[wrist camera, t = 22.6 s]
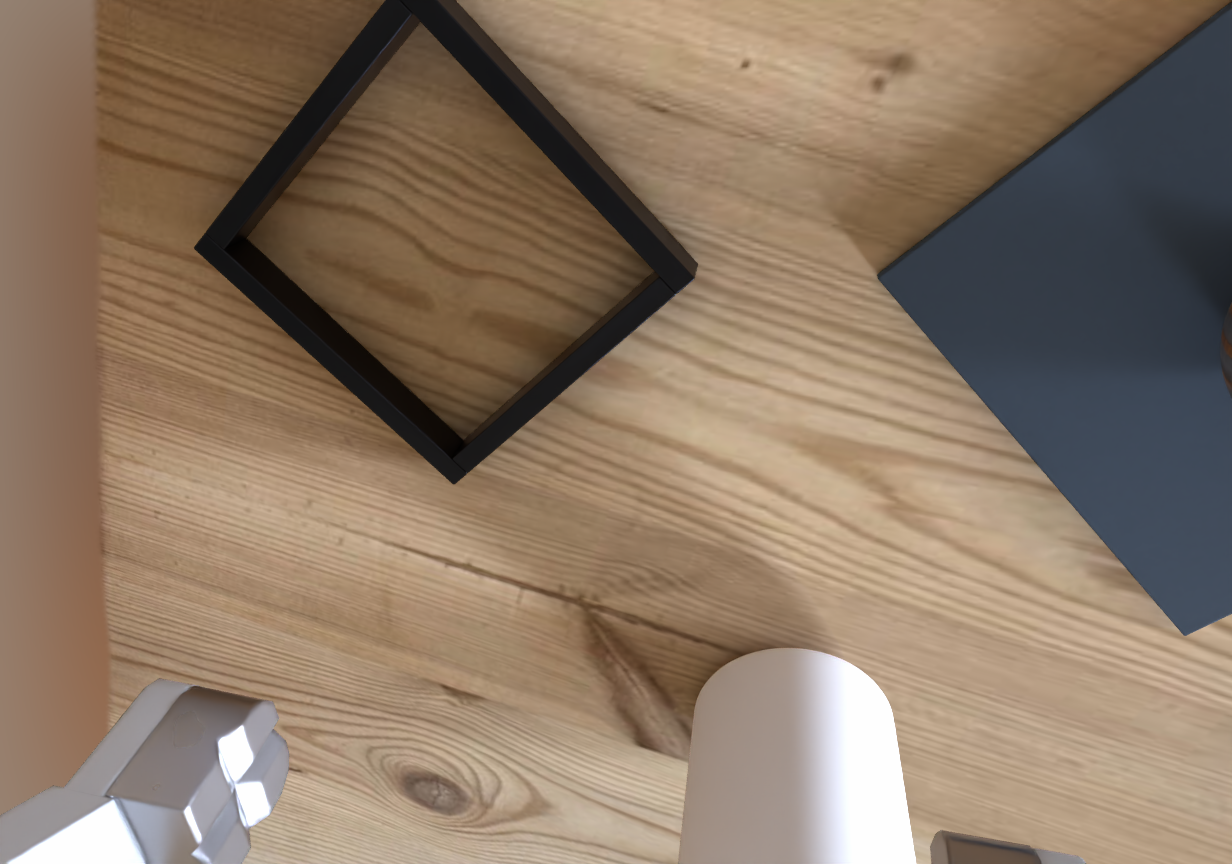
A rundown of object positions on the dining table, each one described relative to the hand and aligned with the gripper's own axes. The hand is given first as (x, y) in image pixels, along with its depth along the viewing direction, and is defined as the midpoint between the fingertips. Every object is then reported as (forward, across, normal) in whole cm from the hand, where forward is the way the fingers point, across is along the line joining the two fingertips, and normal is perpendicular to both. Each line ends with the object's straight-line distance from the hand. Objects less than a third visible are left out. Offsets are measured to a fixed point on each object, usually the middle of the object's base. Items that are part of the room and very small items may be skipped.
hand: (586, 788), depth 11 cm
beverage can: (+19, -4, +21) cm, 29 cm away
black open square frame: (+21, +10, +2) cm, 23 cm away
